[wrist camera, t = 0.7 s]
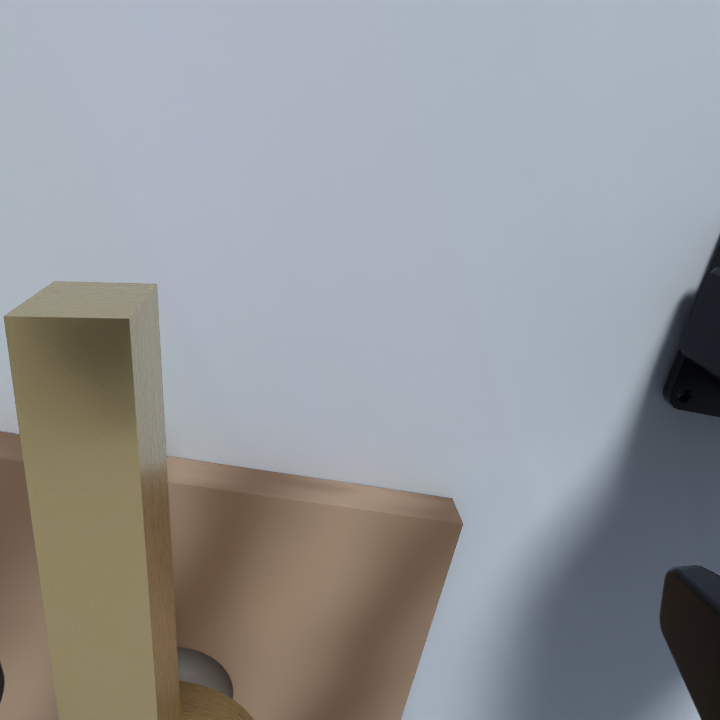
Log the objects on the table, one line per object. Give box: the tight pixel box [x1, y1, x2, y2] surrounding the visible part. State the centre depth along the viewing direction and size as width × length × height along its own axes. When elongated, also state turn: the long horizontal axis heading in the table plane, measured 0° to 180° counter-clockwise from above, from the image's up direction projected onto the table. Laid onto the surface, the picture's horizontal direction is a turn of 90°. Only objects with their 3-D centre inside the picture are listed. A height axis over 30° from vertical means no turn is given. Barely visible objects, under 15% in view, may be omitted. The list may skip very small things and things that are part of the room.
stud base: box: [0, 432, 463, 720], centre depth 22 cm, size 16×16×4 cm
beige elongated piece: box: [4, 281, 254, 720], centre depth 16 cm, size 18×6×4 cm, turn 178°
